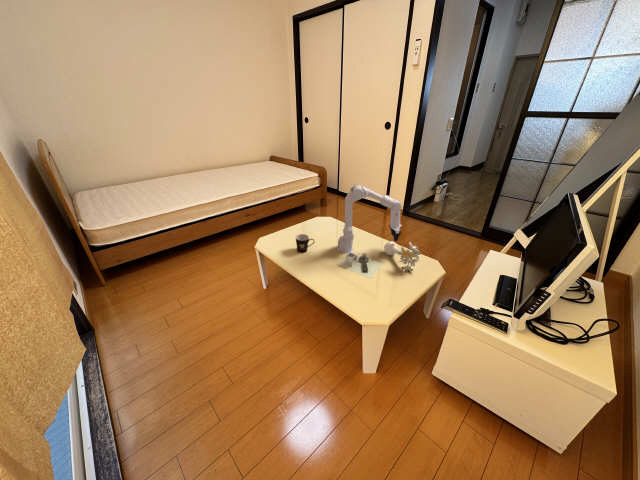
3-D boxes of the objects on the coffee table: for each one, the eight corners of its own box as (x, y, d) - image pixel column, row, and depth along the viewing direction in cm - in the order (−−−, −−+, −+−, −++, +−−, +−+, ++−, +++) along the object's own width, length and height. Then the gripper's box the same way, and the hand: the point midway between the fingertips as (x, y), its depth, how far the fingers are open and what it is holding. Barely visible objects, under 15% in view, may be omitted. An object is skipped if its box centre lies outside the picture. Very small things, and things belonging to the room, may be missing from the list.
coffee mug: (293, 252, 161) (293, 238, 156) (299, 246, 168) (299, 233, 163) (309, 256, 158) (309, 242, 153) (314, 249, 165) (315, 236, 160)
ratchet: (370, 272, 143) (371, 266, 141) (360, 272, 144) (361, 265, 141) (368, 258, 157) (368, 252, 155) (358, 257, 157) (359, 251, 155)
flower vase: (382, 263, 165) (407, 276, 143) (378, 238, 159) (403, 248, 137) (398, 256, 169) (425, 268, 146) (394, 231, 163) (422, 240, 140)
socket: (345, 264, 150) (345, 255, 147) (348, 260, 154) (349, 252, 151) (352, 266, 148) (353, 258, 145) (356, 263, 152) (357, 254, 149)
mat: (337, 265, 150) (337, 264, 149) (351, 252, 163) (351, 252, 163) (370, 278, 139) (370, 278, 139) (382, 264, 152) (382, 263, 152)
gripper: (404, 223, 147) (403, 243, 154) (399, 214, 160) (398, 232, 167) (392, 224, 148) (392, 244, 155) (388, 215, 161) (387, 233, 167)
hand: (394, 238), depth 161 cm, fingers open, 7 cm apart
